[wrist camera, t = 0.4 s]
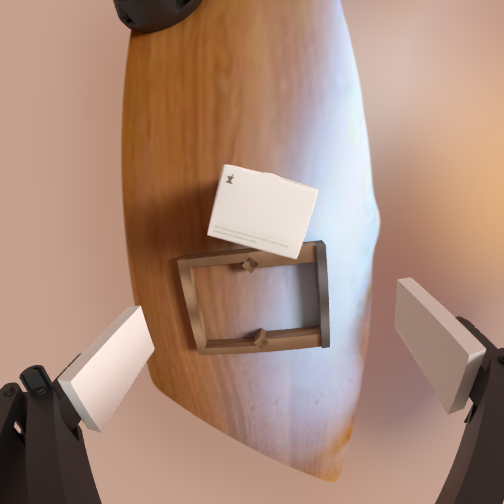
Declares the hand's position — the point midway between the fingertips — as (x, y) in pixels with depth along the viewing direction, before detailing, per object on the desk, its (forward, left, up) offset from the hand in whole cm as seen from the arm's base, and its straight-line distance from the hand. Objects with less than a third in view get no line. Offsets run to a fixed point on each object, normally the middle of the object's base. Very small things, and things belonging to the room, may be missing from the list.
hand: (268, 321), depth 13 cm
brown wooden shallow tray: (+10, -4, -26) cm, 28 cm away
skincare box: (-4, -1, -26) cm, 27 cm away
